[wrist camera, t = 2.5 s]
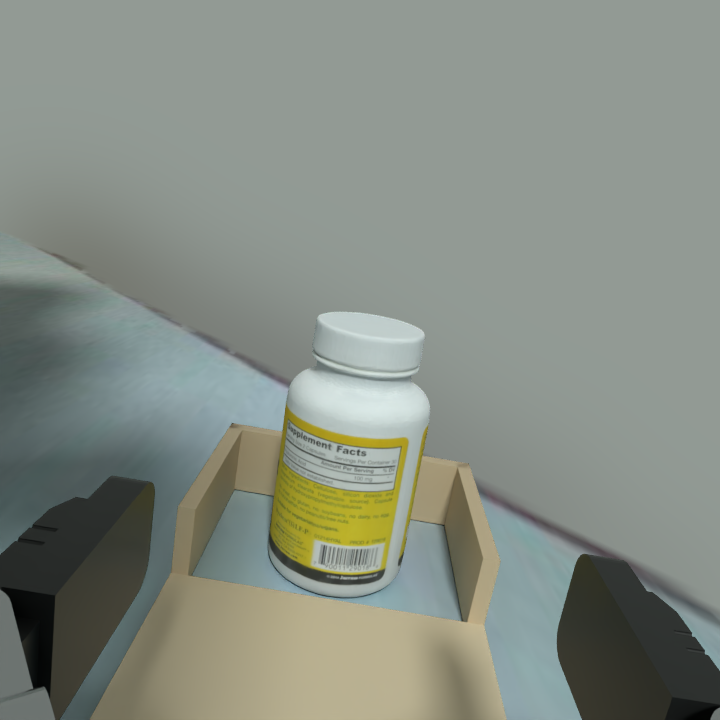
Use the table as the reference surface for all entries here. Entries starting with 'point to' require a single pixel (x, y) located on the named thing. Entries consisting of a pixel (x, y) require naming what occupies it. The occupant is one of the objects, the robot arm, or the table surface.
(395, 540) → the supplement bottle
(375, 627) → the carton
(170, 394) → the table surface
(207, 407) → the table surface
